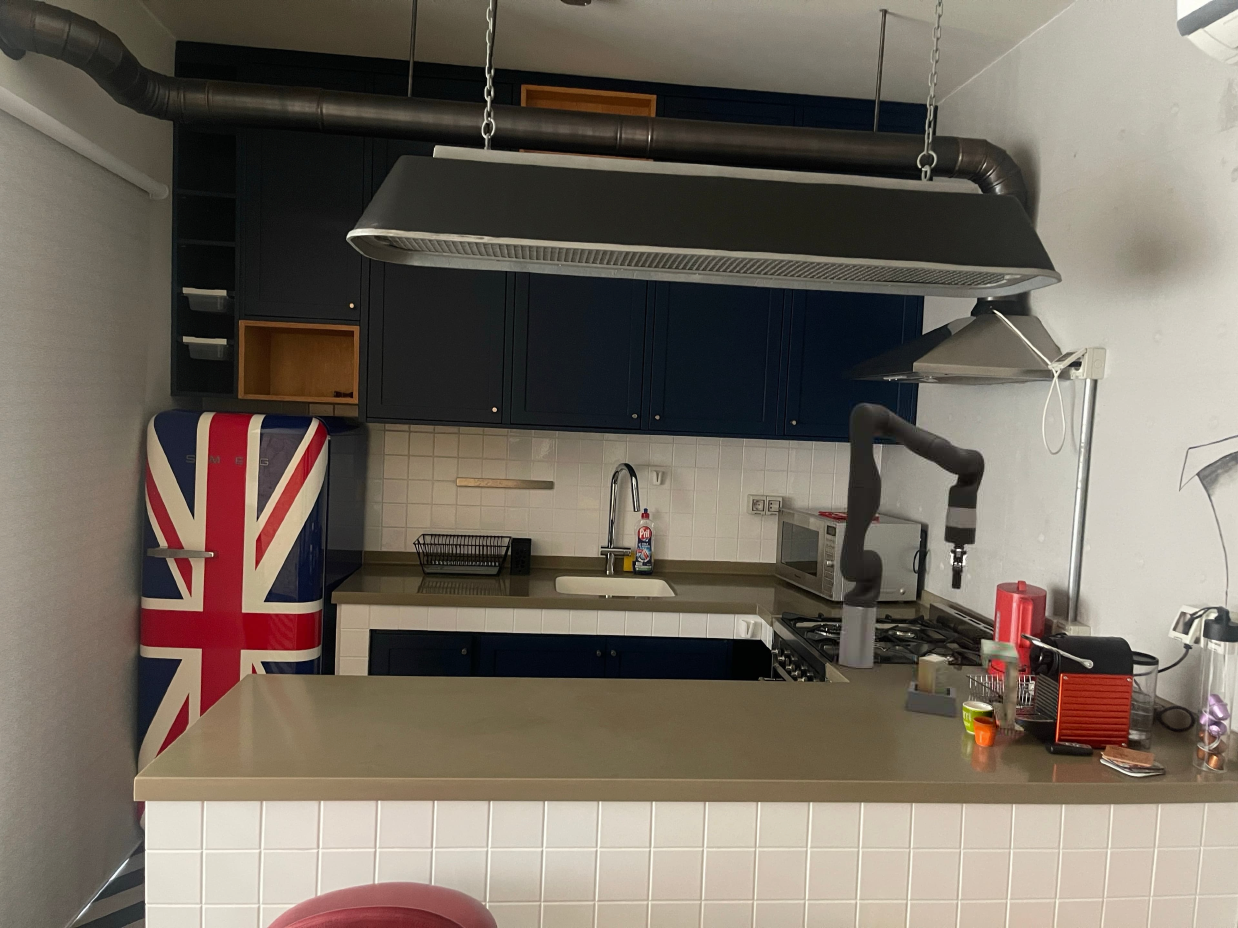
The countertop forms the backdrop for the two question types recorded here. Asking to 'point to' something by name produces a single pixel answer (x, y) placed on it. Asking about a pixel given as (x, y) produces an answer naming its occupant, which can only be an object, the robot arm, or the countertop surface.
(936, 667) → the skincare box
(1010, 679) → the awning stand
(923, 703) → the socket
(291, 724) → the countertop surface
